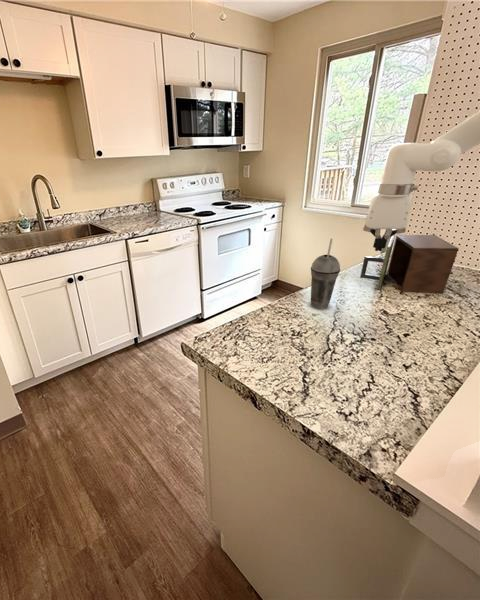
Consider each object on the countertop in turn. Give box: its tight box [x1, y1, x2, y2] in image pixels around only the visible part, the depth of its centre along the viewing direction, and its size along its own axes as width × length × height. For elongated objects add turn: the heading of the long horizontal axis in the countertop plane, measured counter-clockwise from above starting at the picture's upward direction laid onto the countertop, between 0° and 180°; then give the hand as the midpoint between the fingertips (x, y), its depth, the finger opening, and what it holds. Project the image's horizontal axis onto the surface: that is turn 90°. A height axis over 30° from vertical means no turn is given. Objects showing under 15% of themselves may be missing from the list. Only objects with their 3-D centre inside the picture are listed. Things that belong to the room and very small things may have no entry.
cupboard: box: [386, 234, 459, 294], centre depth 96 cm, size 10×15×14 cm
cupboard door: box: [359, 235, 396, 290], centre depth 101 cm, size 6×15×14 cm, turn 140°
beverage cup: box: [310, 238, 341, 310], centre depth 87 cm, size 7×7×20 cm
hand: (378, 249), depth 99 cm, fingers closed
